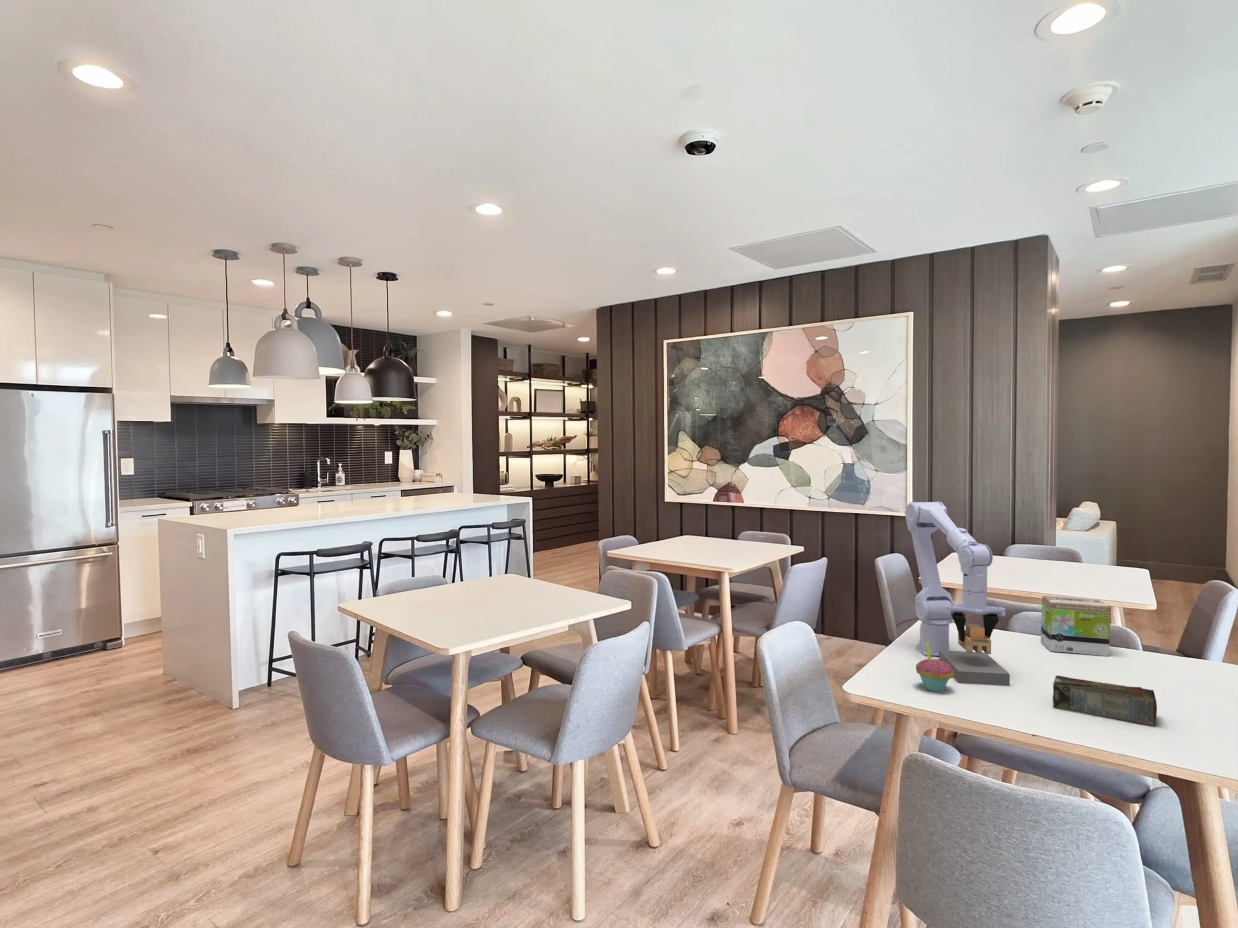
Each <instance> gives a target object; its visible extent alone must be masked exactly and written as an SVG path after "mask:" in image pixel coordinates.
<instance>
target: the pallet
mask: <svg viewBox="0 0 1238 928" xmlns="http://www.w3.org/2000/svg"><path fill="white" fill-rule="evenodd" d="M957 644H958V645H959V646H960V647H961V648H963V650H965V652H968V653H973V652H976V653H978V654H982V652H985V653H986V654H988V655H992V639H991V638H990V639H989V638H988V637H987V636H985V638H984V639H970V638H969V637H968V636H967V635H966V634H965V641H964V642H961V641H960V640H959V634H958V633H957Z"/></svg>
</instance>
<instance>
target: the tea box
mask: <svg viewBox="0 0 1238 928" xmlns="http://www.w3.org/2000/svg"><path fill="white" fill-rule="evenodd" d="M1111 612H1112V607H1111V606H1109V604H1106V603H1104V602H1103V601H1101V600H1100V599H1093V598H1082V597H1081V598H1079V597H1068V596H1067V597H1064V596H1049V595H1042V601H1041V619H1040V620H1041V621H1040V622H1041V623H1040V625H1041V626H1040V643H1041V644H1042V645H1043V646H1044V647H1045V648H1046V649H1047V650H1048V651H1049V652H1058V653H1073V654H1081V655H1092V656H1100V657H1101V656H1102V657H1109V655H1110V641H1111V640H1110V639H1111V618H1112V615H1111V614H1112V613H1111Z"/></svg>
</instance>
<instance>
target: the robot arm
mask: <svg viewBox="0 0 1238 928" xmlns="http://www.w3.org/2000/svg"><path fill="white" fill-rule="evenodd" d="M904 515H905V520H906V521H905V522H906V526H907V531H908V532H910V533H911V538H912V539H911V540H912V544H913V548H914V553H915V558H916V563H917V568H918V572H919V573H918V574H919V578H920V582H921V583H920V584H921V587H922V589H921V590H920V591H919V592H918V593H917V594H916V595H915V597H914V601H915V607H914V610H915V615H916V617H917V618H918V619H919V621H920V627H919V644H918V643H917V644H916V645H915V646H916V648H918V649H919V651H920V652H921V653H922V654H923V656H928V655H927V649H926V640H927V642H928V644H929V650H930V656H934V657H939V650H944V651H950V624H952V623H953V622H954V624H955V626H956V629H957V635H958V634H959V640H960V641H961V642H964V641H965V627H966V622H967V621H966V620H967V618H966V617H965V615H979V616H980V615H982V619H983V620H982V621H983V628H985V636H987V637H988V638H989V639H990V640H991V637H992V633H993V631H994V629H995V627H996V626H997V624H998V623H999V620H1000V617H1006V608H1004V607H1003V606H992V605H991V606H990V605H988V604H987V603H988V567H990V566H991V565H992V563H993V559H994V556H993V552H992V550H991V548H990V547H989V545H988V544H983V543H978V541H976V539H974V537H973V536H972V535H971V534H970V533H969V532H968V530H967V529H965V528H962V527H957V525H956V524H955V523H954V522H953V521H952V519H951V518H950V517H949V515H948V511H947V506H945V505H944V503H943V502H941V501H932V502H931V501H928V502H927V501H923V502H921V501H920V502H919V501H910V502H909V503H908V504H907V506H906V509H905V511H904ZM938 529H939V531H941V532H942V533H943V534H944V535H945V536H946V543H948V545H949V546H950V547H951V548H952V549H953V550H954V551H955V553H956V554H957V557H958V562H959V564H960V570H961V571H960V572H961V573H962V604H956V603H954V600H953V597H952V594H951V593H950V592H949V591H948V590H946V589H944V587H942V583H941V579H940V577H941V576H940V573H939V569H938V563H937V559H936V553H935V550H934V545H933V541H932V534H933V533H934V532H936V531H938ZM999 616H1000V617H999ZM925 639H926V640H925Z"/></svg>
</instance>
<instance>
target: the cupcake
mask: <svg viewBox="0 0 1238 928" xmlns="http://www.w3.org/2000/svg"><path fill="white" fill-rule="evenodd" d="M925 640H926V639H925ZM926 649H927V655H926V656H927V658H926V659H923V660H920V661H919V662H917V664H915V670H916V673H917V674H919V677H920V680H921V682H922V685H923V687H924V689H926V690H927V689H928V691H932V692H943V691H945V690H946V686H947V684H948V682H949V680H950V679H952V678H953V679H954V677H953V676H954V672H953V670H952V669H953V668H951V666H949V664H947V663H946V662H944V661H942V660H939V659H935V658H932V657H931V656H930V650H929V644H928V642H927V640H926Z"/></svg>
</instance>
